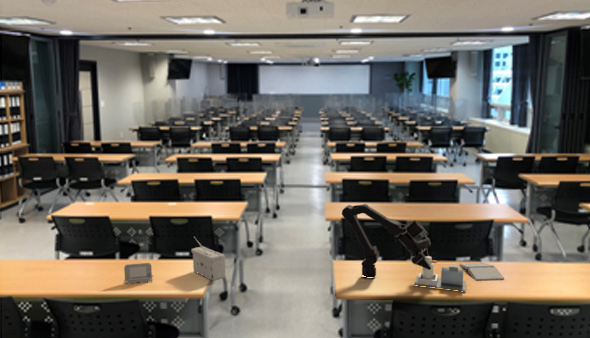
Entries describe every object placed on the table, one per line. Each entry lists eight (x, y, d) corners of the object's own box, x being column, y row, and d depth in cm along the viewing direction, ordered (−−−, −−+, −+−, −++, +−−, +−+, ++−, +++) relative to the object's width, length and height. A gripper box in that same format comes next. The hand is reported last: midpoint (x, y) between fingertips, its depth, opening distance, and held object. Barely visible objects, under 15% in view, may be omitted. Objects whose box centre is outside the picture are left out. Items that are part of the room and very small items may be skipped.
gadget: (504, 280, 258) (505, 274, 257) (475, 281, 257) (476, 274, 256) (485, 265, 280) (485, 259, 279) (458, 266, 279) (459, 259, 279)
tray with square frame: (414, 286, 249) (414, 266, 248) (417, 277, 262) (417, 257, 260) (465, 292, 241) (466, 271, 240) (466, 282, 253) (467, 262, 252)
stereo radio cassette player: (226, 278, 262) (225, 241, 259) (212, 282, 257) (211, 244, 254) (204, 268, 278) (203, 233, 274) (191, 272, 272) (189, 236, 269)
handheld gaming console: (152, 275, 268) (152, 257, 266) (152, 282, 259) (151, 263, 257) (126, 278, 265) (125, 259, 263) (125, 284, 256) (123, 265, 254)
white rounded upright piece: (421, 282, 252) (422, 258, 250) (422, 278, 257) (423, 255, 255) (435, 284, 250) (436, 259, 248) (436, 280, 254) (437, 256, 253)
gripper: (419, 237, 242) (442, 262, 240) (423, 227, 260) (444, 250, 258) (402, 252, 246) (424, 276, 244) (407, 241, 263) (428, 263, 261)
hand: (431, 266), depth 252 cm, fingers open, 9 cm apart
